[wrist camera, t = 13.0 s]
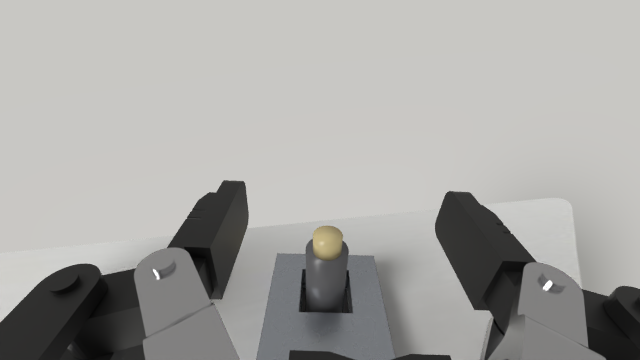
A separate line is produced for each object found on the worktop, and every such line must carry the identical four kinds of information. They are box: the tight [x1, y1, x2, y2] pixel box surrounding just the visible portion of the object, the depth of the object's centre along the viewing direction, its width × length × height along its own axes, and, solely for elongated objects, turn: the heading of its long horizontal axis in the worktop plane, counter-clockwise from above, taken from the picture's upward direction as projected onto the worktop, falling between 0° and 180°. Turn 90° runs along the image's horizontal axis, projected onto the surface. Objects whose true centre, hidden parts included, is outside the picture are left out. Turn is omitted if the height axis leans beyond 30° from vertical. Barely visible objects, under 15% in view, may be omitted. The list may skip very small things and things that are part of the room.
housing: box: [256, 254, 395, 360], centre depth 30 cm, size 13×18×4 cm
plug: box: [306, 226, 349, 313], centre depth 30 cm, size 4×4×12 cm
